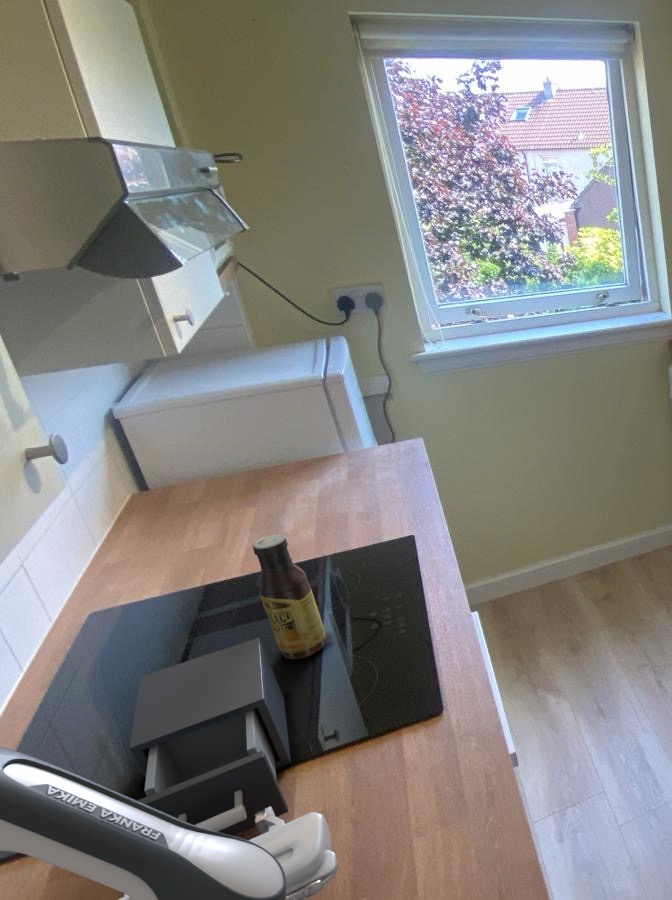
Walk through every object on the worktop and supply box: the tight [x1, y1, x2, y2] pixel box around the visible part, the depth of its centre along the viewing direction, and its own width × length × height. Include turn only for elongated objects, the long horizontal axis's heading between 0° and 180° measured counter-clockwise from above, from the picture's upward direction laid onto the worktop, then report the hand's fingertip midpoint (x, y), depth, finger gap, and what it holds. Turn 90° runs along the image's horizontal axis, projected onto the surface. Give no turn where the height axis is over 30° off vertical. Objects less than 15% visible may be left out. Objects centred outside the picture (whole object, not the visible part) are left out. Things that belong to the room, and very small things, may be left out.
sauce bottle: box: [252, 533, 328, 660], centre depth 111 cm, size 6×6×20 cm
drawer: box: [136, 708, 289, 837], centre depth 85 cm, size 18×12×9 cm, turn 36°
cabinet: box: [128, 637, 292, 779], centre depth 94 cm, size 15×13×11 cm
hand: (211, 837), depth 77 cm, fingers open, 8 cm apart
